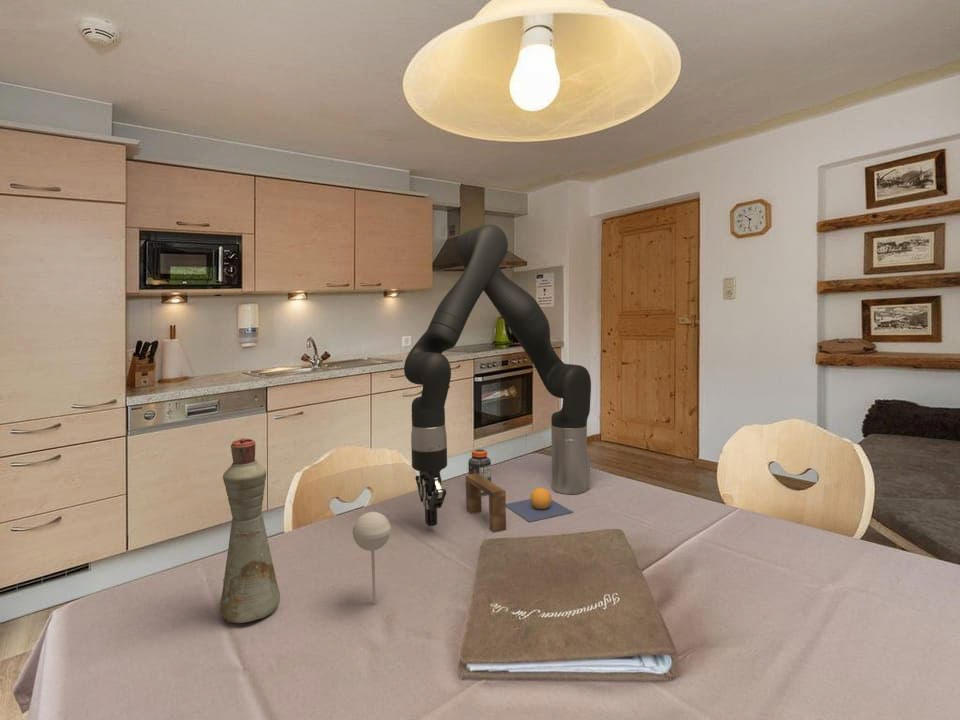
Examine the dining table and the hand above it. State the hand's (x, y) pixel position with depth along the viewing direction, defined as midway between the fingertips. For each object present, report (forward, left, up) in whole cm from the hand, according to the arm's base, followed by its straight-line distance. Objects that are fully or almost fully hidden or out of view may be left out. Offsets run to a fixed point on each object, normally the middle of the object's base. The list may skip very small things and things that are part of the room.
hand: (431, 524), depth 109 cm
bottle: (+36, +15, -2) cm, 39 cm away
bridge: (-13, 0, -2) cm, 13 cm away
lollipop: (+18, +22, -2) cm, 28 cm away
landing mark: (-27, 0, -2) cm, 27 cm away
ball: (-28, 0, +1) cm, 28 cm away
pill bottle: (-20, -17, -2) cm, 26 cm away
